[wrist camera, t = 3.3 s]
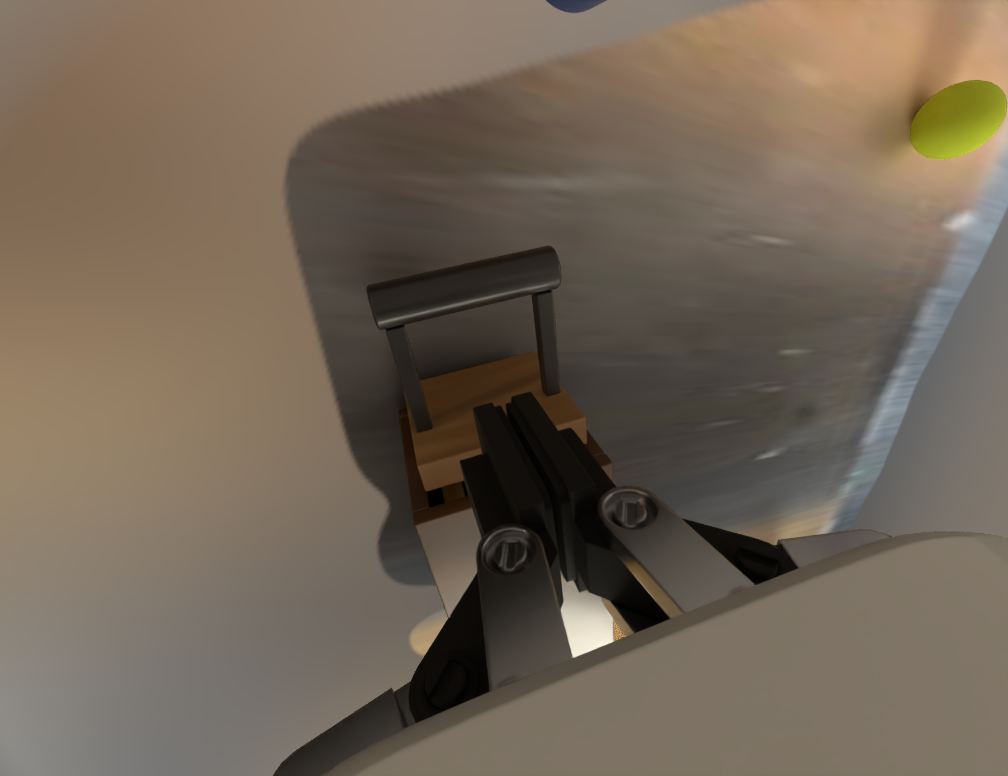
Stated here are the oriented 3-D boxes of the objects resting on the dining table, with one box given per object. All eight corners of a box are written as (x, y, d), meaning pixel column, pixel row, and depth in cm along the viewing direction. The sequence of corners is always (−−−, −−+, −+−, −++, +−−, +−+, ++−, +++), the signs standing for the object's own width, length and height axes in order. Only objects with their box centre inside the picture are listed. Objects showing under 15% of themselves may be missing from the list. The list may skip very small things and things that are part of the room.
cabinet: (397, 410, 21) (414, 525, 15) (543, 371, 22) (613, 462, 16) (453, 581, 28) (479, 707, 22) (560, 545, 29) (614, 654, 23)
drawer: (364, 258, 16) (367, 310, 12) (519, 225, 17) (579, 261, 13) (457, 563, 26) (479, 659, 21) (553, 530, 27) (595, 615, 22)
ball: (927, 70, 20) (1011, 61, 17) (958, 102, 21) (1039, 99, 18) (881, 141, 21) (952, 142, 18) (912, 168, 22) (983, 172, 20)
